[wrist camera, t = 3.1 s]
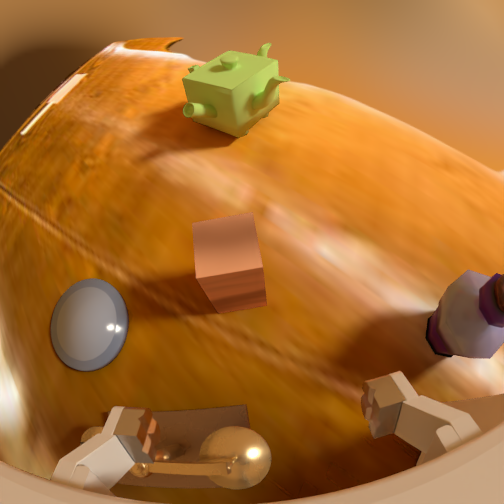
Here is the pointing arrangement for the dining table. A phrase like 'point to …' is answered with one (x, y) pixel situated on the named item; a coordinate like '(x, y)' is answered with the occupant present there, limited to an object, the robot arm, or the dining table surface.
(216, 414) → the brass balance
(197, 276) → the terracotta block
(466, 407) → the milk carton
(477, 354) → the potion bottle
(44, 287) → the dining table surface
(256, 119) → the kettle
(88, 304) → the gray dish
